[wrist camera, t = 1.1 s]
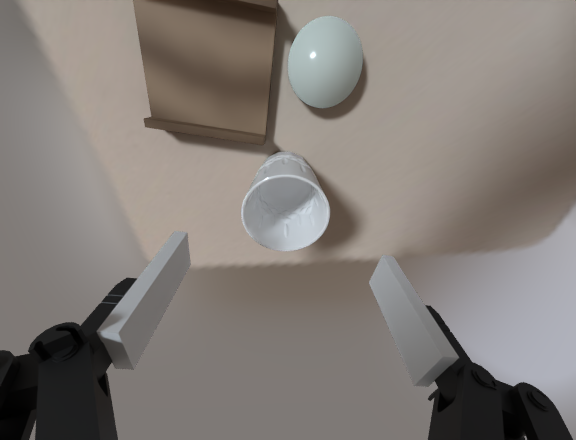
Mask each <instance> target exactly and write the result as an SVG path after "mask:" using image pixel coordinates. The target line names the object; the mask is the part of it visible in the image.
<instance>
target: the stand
mask: <svg viewBox="0 0 576 440" xmlns="http://www.w3.org/2000/svg"><path fill="white" fill-rule="evenodd" d="M133 4H134V10H135V16H136V23H137V29H138V35H139V41H140V48H141V54H142V60H143V66H144V72H145V79H146V85H147V91H148V97H149V104H150V110H151V116H152V117H149V118H144V123H145V127H148V128H154V129H161V130H167V131H174V132H180V133H186V134H193V135H199V136H206V137H212V138H219V139H225V140H232V141H238V142H245V143H251V144H258V145H264V144H265V138H266V128H267V117H268V107H269V96H270V85H271V75H272V64H273V54H274V43H275V32H276V22H277V11H278V0H133Z"/></svg>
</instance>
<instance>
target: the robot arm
mask: <svg viewBox="0 0 576 440" xmlns="http://www.w3.org/2000/svg"><path fill="white" fill-rule="evenodd" d="M190 265H191V263H190V254H189V244H188V235H187V232H179V231H174V233H173V234H172V235H171V237H170V238H169V239H168V240H167V242H166V243H165V244H164V246H163V247H162V248H161V249H160V251H159V252H158V253H157V254H156V256H155V257H154V258H153V260H152V261H151V262H150V263H149V265H148V266H147V267H146V269H145V270H144V271H143V272H142V274H141V275H140V276H139V278H138V279H136V278H126V279H124V280H123V281H121V282H120V283H118V284H117V285H116V286H115V287H114V288H113V289H112V290H111V291H110V292H109V294H108V296H106V297H105V298H104V299H103V301H102V303H101V304H99V305H98V306H97V307H96V309H95V310H94V311H93V312H92V313H91V314H90V315H89V317H88V318H87V319H86V320H85V321H84V322H83V324H82V325H81V326H79V324H76V323H74V322H71V323H70V322H68V323H67V322H66V323H62V324H58V325H55V326H53V327H51V328H49V329H47V330H45V331H44V332H43V333H41V334H40V335H39V336H37V337H36V339H35V340H34V341H33V342H32V343H31V345H30V347H29V350H28V352H29V353H30V354H25V355H20V356H16V357H15V356H14V355H13V354H12V353H11V352H10V351H5V350H2V351H0V440H29V438H30V435H31V432H32V429H33V426H34V423H35V420H36V435H35V440H118V437H117V431H116V425H115V419H114V413H113V407H112V400H111V394H110V388H109V382H108V376H107V373H106V370H107V369H108V367H109V366H110V364H111V363H113V365H114V367H115V368H116V369H133V370H134V368H135V367H136V365H137V363H138V361H139V359H140V357H141V355H142V354H143V352H144V350H145V348H146V346H147V344H148V342H149V341H150V339H151V337H152V335H153V333H154V331H155V329H156V328H157V325H158V324H159V322H160V320H161V318H162V317H163V315H164V313H165V311H166V309H167V307H168V306H169V304H170V302H171V300H172V298H173V296H174V294H175V293H176V291H177V289H178V287H179V285H180V283H181V281H182V280H183V277H184V276H185V274H186V272H187V270H188V269H189V267H190ZM369 284H370V286H371V289H372V291H373V293H374V296H375V298H376V300H377V302H378V305H379V307H380V309H381V312H382V314H383V316H384V318H385V321H386V323H387V325H388V328H389V330H390V332H391V334H392V337H393V339H394V341H395V344H396V346H397V348H398V351H399V353H400V355H401V357H402V360H403V362H404V364H405V367H406V369H407V371H408V373H409V376H410V378H411V380H412V382H413V385H414V386H426V387H428V386H430V385H431V384H432V382H434V381H435V382H436V384H437V386H438V389H437V390H435V391H434V392H433V393H432V394H431V395H430V396H429V398H428V400H430V401H431V400H432V399H433V398H434V397H435V398H434V405H433V411H432V417H431V423H430V430H429V436H428V440H525V438H524V436H526V437H527V440H573V439H572V437H571V435H570V433H569V431H568V429H567V427H566V425H565V423H564V421H563V419H562V417H561V415H560V414H559V411H558V410H557V408H556V407H555V405H554V404H553V402H552V401H551V400H550V399H549V398H548V397H547V396H546V395H545V394H544V393H542V392H541V391H540V390H539V389H537V388H536V387H534V386H532V385H530V384H527V383H524V382H523V383H519V384H517V385H515V386H514V387H513V386H511V385H508V384H506V383H503V382H500V381H498V380H495V378H494V377H493V376H492V375H491V374H490V373H489V372H488V371H487V370H486V369H484V368H483V367H482V366H480V365H478V364H476V363H473V362H472V361H471V360H470V358H469V357H468V356H467V354H466V353H465V351H464V350H463V348H462V347H461V345H460V344H459V342H458V341H457V340H456V338H455V337H454V335H453V334H452V332H450V329H449V328H448V327H447V325H445V322H444V321H443V320H442V318H441V316H440V315H439V314H438V313H437V312H436V311H435V310H434V309H433V308H432V307H431V306H427V305H425V304H424V303H423V301H422V300H421V298H420V297H419V295H418V294H417V292H416V291H415V289H414V288H413V286H412V285H411V283H410V282H409V280H408V278H407V277H406V275H405V274H404V272H403V271H402V269H401V268H400V266H399V265H398V263H397V262H396V260H395V259H394V257H393V256H387V255H382V257H381V259H380V261H379V263H378V265H377V267H376V269H375V271H374V274H373V275H372V277H371V279H370V281H369Z"/></svg>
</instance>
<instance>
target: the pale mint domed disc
mask: <svg viewBox="0 0 576 440" xmlns="http://www.w3.org/2000/svg"><path fill="white" fill-rule="evenodd" d="M362 64H363V52H362V46H361V42H360V39H359V37H358V35H357V33H356V31H355V30H354V29H353V27H352V26H351V25H350V24H349V23H347V22H346V21H345V20H343V19H341V18H338V17H334V16H323V17H319V18H317V19H314V20H312V21H311V22H309V23H308V24H307V25H305V26H304V27H303V28H302V29H301V31H300V32H299V33H298V35H297V36H296V38H295V40H294V42H293V44H292V46H291V49H290V53H289V58H288V76H289V81H290V84H291V86H292V89H293V90H294V92H295V94H296V95H297V96H298V97H299V98H300V99H301V100H302V101H303V102H305V103H306V104H308V105H310V106H312V107H316V108H328V107H332V106H335V105H337V104H339V103H340V102H342V101H343V100H344V99H346V98H347V97H348V96H349V95H350V93H351V92H352V91H353V89H354V88H355V86H356V84H357V82H358V80H359V77H360V74H361V70H362Z"/></svg>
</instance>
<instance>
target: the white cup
mask: <svg viewBox="0 0 576 440" xmlns="http://www.w3.org/2000/svg"><path fill="white" fill-rule="evenodd" d="M241 216H242V222H243V225H244V227H245V229H246V231H247V233H248V234H249V235H250V236H251V237H252V238H253V239H254V240H255V241H256V242H257V243H259V244H260V245H262V246H264V247H266V248H269V249H272V250H277V251H295V250H299V249H302V248H305V247H307V246H309V245H311V244H312V243H314V242H315V241H316V240H318V239H319V238H320V237H321V235H322V234H323V233H324V231H325V230H326V228H327V226H328V223H329V219H330V207H329V203H328V200H327V198H326V196H325V194H324V192H323V190H322V188H321V186H320V184H319V181H318V179H317V178H316V176H315V174H314V172H313V171H312V169H311V168H310V166H309V165H308V163H307V162H306V161H305V160H304V158H303V157H302V156H299V155H297V154H295V153H293V152H277V153H275V154H273V155H271V156H270V157H268V158H267V159H266V160H265V162H264V163H263V165H262V166H261V167H260V169H259V170H258V172H257V174H256V176H255V178H254V180H253V182H252V184H251V186H250V188H249V190H248V192H247V194H246V197H245V199H244V201H243V204H242V210H241Z"/></svg>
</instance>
